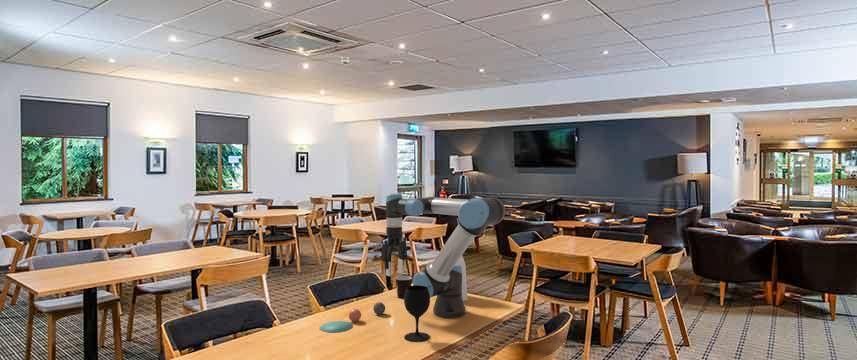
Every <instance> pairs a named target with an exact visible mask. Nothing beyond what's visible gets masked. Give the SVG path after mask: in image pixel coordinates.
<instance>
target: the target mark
mask: <svg viewBox="0 0 857 360" xmlns="http://www.w3.org/2000/svg"><path fill="white" fill-rule="evenodd" d="M353 326H354V325H353V323H351V322H349V321H343V320H336V321H329V322H325V323H322V324H321V325H320V326H319V331H322V332H325V333H331V334H332V333H334V334H335V333H342V332H346V331H347V332H348V331H349V330H351V329H352V328H353Z"/></svg>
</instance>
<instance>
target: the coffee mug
mask: <svg viewBox="0 0 857 360" xmlns="http://www.w3.org/2000/svg"><path fill="white" fill-rule="evenodd" d="M412 283H413V277H412V276H409V275H407V276H406V275H400V276H396V277H395V286H396V293H397V294H396V295H397V298H398V299H401V300H402V299H403V300H404V295H405V291H406V288H407V287H409V286H412Z"/></svg>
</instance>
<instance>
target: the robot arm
mask: <svg viewBox="0 0 857 360" xmlns="http://www.w3.org/2000/svg"><path fill="white" fill-rule="evenodd" d="M385 198H386V199H385V214H386V218H385V223H386V227H385V232H386V233H385V234H386V235H387V237H386V239H382V240H381V245H382V247H381V258H380V261H381V262H384V269H385V276H388V277H392V274H391V273H392V271H391V270H392V269H391V268H392V265H391V264H392V263H391V261H390V260H391V256H392V253H393V249H395V248H396V251H397V252H396V253H397V255H398V257H399V258H398V259H397V262H398V263H397V273H398V274H404V265H405V260H406V258H407V257H408V252H407V237H405V236H402V235H403V227H402V226H403V215H404V216H405V215H406V216H411V217H414V216H420V215H422V214H433V215H434V214H435V215H436V214H437V215H448V216H458V218H457V226H456V227H455V229H454V230H453V231H452V233H451V235H450V236H449V237H448V239H447V241H446V242H445V244H443V247H442V248H441V250H440V251H439V252H438V254H437V256H436V257H435V258H434V260H433V261H429V262H427V264H426V265H425V267H424V268H423V269H422V270H421V271H418V272H417V273H415V275H414V276H413V277H412V286H415V285H420V286H426V287H428V290H429V294H430V299H431V298H433V297H436V298H435V302H434V304H433V309H432V311H433V314H434V315H435V316H438V317H439V318H440V317H442V318H449V319H450V318H460V317H463V316H465V315H466V314H467V312H466V311H467V310H466V309H467V308H466V306H465V303H464V302H465V301H463V298H462V267H461V266H460V265H458V264H456V263H457V262H458V260H459V259H460V257H461V256H463V255H464V254H465V252H466V250H467V249H468V247H469V246H470V245H471V244H472V242H473V240H474V239H475V238H476V237H481V236H482V234H483V233H484V231H485V230H486V229H487V228H488V227H490V226H493V225H497V224H499V223H500V222H501V221H503V220H504V217H505V215H506V207H505V205H504V203H503V201H501V199H499V198H497V197H493V196H490V197H481V198H479V197H474V198H470V199H463V198H448V197H447V198H446V197H435V196H427V197H416V198H414V197H413V198H403V195H402V193H387V194H386V197H385Z"/></svg>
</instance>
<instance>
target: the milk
mask: <svg viewBox="0 0 857 360" xmlns="http://www.w3.org/2000/svg"><path fill="white" fill-rule="evenodd" d="M456 264H458V265H460V266H461V267H462V298H463V302H465V301H464V300H467V301H468V290H467V289H468V286H467V285H468V284H467V269H466V267H467V266H466V262H465V259H464V256H463V255H462V256H461V257H460V259H459V260H458V262H457V263H456Z"/></svg>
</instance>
